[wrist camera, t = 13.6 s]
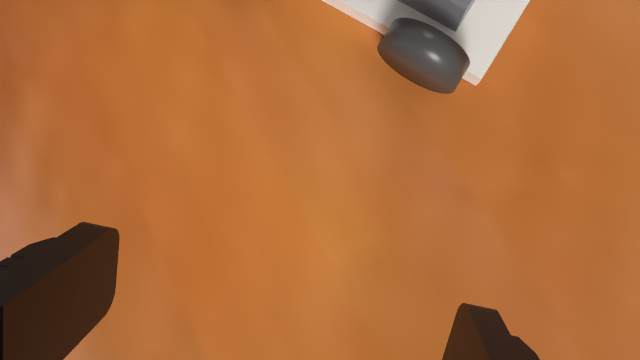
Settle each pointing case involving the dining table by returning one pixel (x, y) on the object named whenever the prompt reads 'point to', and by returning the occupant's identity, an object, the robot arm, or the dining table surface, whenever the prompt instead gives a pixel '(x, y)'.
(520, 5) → the car chassis
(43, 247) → the robot arm
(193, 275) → the dining table surface
